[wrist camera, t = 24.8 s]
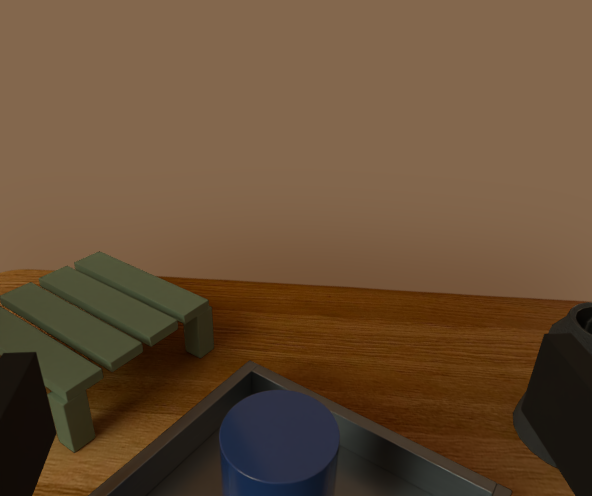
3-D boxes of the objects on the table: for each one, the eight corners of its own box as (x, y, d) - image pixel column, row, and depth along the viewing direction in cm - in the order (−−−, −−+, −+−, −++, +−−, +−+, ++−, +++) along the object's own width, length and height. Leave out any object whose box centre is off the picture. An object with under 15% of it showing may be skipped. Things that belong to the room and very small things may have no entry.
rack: (-33, 371, 49) (-51, 317, 46) (109, 295, 61) (102, 249, 58) (74, 453, 41) (60, 395, 38) (214, 348, 53) (211, 297, 50)
